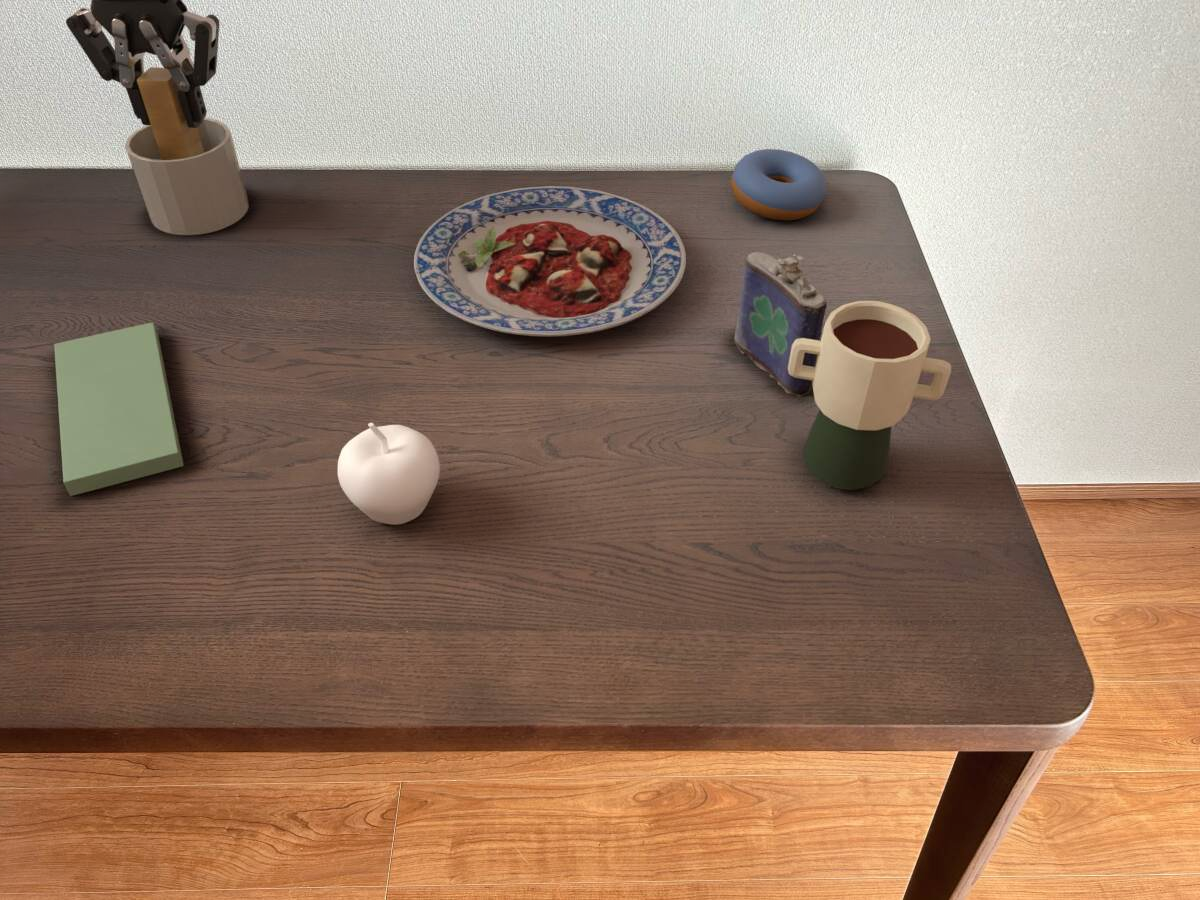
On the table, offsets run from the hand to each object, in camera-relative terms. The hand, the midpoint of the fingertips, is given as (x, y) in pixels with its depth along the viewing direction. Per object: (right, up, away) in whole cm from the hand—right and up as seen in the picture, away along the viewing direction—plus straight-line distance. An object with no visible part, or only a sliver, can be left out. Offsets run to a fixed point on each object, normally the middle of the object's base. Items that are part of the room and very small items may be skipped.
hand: (173, 122), depth 95 cm
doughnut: (+60, -6, +9) cm, 61 cm away
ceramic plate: (+37, -15, -1) cm, 40 cm away
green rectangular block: (+3, -29, -16) cm, 33 cm away
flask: (+57, -25, -11) cm, 63 cm away
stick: (0, -7, +6) cm, 9 cm away
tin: (0, -7, +7) cm, 10 cm away
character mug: (+60, -33, -20) cm, 72 cm away
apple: (+27, -36, -23) cm, 51 cm away
